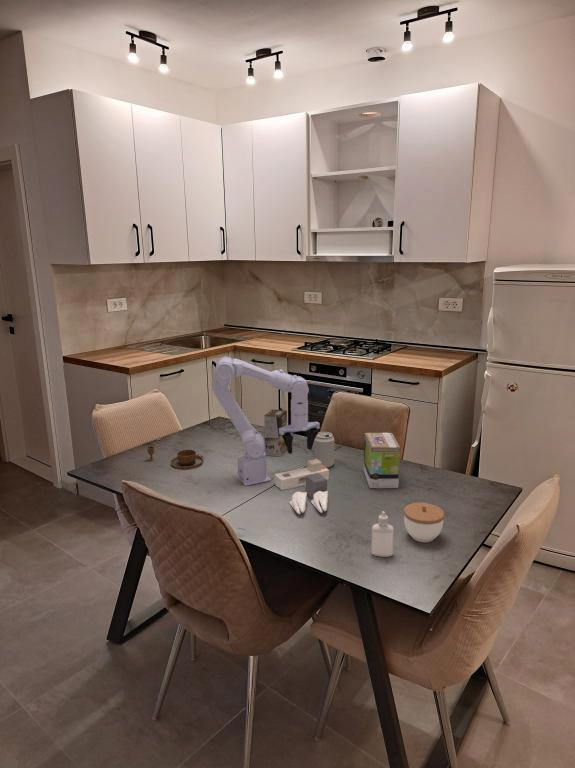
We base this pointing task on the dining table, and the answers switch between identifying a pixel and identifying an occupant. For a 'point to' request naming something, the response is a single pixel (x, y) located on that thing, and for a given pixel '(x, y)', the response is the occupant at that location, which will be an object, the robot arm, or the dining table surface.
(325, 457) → the can
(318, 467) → the beige plug
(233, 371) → the robot arm
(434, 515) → the lidded jar
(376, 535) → the eye dropper bottle
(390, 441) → the tea box
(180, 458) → the place setting
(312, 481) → the block
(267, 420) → the coffee box
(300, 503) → the salt and pepper shakers
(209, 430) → the dining table surface
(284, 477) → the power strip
